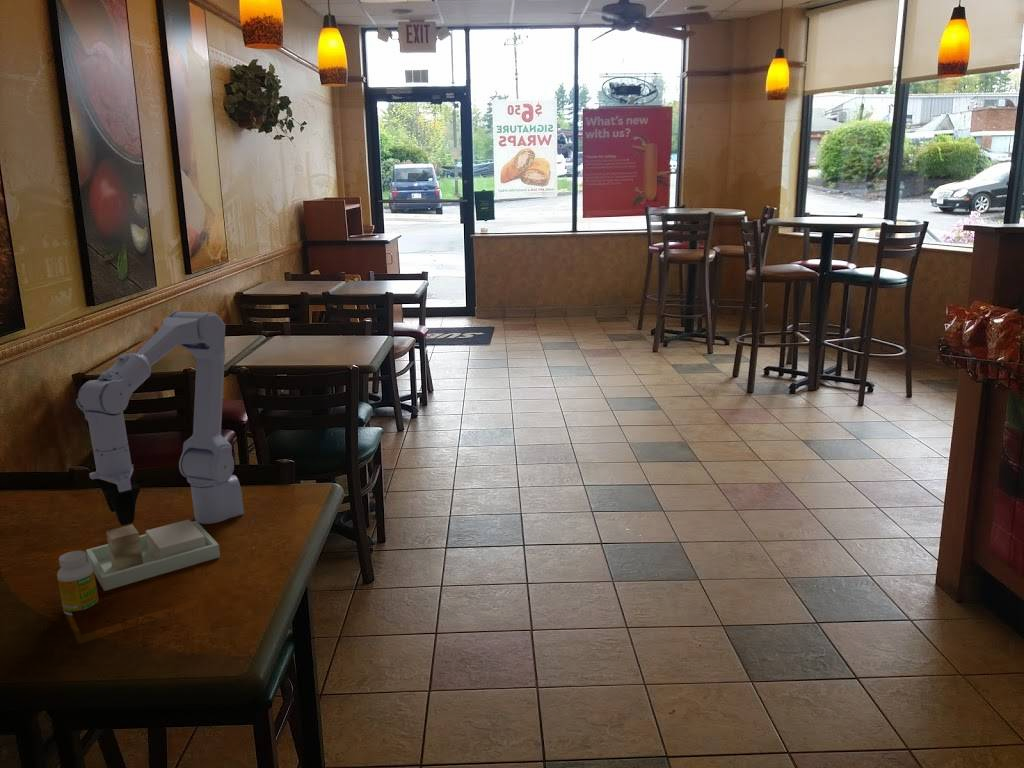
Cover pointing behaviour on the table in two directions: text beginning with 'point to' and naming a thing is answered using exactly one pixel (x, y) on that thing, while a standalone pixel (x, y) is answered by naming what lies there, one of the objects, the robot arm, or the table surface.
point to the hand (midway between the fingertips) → (122, 516)
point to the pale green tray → (148, 562)
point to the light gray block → (174, 539)
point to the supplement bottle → (76, 582)
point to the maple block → (124, 547)
